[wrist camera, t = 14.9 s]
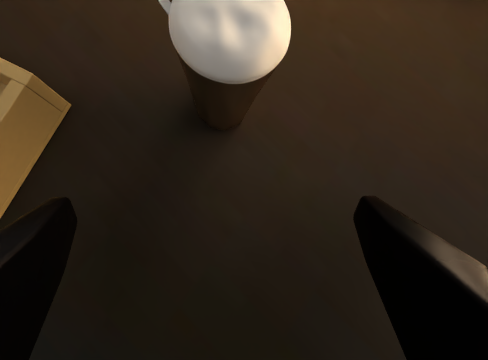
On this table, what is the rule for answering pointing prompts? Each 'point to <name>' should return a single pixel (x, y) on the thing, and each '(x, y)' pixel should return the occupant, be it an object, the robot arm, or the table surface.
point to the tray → (24, 125)
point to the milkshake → (227, 52)
